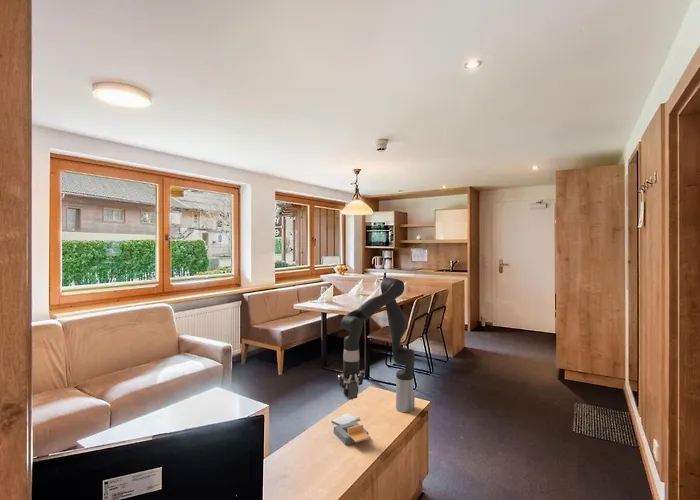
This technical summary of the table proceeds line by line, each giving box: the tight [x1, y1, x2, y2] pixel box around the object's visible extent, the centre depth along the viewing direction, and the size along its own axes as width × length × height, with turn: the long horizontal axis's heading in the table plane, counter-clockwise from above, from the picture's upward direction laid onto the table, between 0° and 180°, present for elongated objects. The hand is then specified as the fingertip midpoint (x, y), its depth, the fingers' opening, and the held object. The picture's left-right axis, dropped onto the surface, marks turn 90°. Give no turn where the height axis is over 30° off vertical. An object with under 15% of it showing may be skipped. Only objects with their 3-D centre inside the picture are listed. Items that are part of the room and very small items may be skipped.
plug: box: [344, 380, 359, 401], centre depth 173 cm, size 4×4×8 cm
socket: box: [333, 421, 369, 446], centre depth 173 cm, size 12×12×3 cm
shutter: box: [348, 423, 371, 443], centre depth 166 cm, size 8×8×3 cm
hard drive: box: [330, 412, 361, 426], centre depth 188 cm, size 2×8×12 cm
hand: (351, 394), depth 173 cm, fingers closed on plug, 4 cm apart
